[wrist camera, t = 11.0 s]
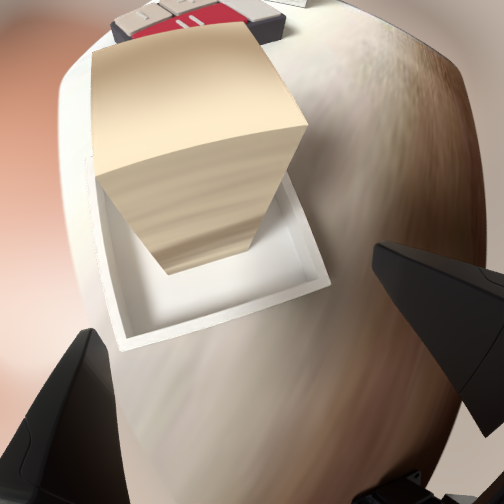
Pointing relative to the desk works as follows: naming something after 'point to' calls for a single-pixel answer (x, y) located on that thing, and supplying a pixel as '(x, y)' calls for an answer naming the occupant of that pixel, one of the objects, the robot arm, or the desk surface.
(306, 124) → the birch block
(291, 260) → the white tray
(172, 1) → the calculator
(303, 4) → the skincare box
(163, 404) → the desk surface
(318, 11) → the desk surface
